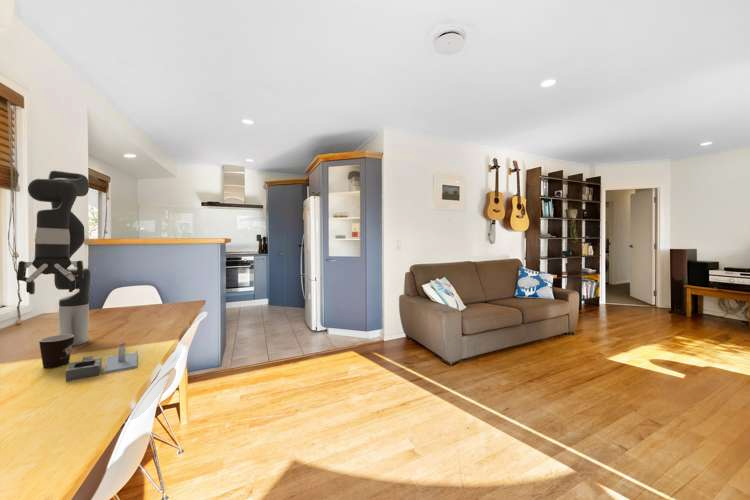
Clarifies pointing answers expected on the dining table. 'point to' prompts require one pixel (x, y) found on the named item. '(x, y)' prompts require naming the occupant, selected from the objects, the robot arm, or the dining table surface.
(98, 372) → the end link
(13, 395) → the dining table surface
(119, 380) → the dining table surface
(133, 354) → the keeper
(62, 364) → the coffee mug
